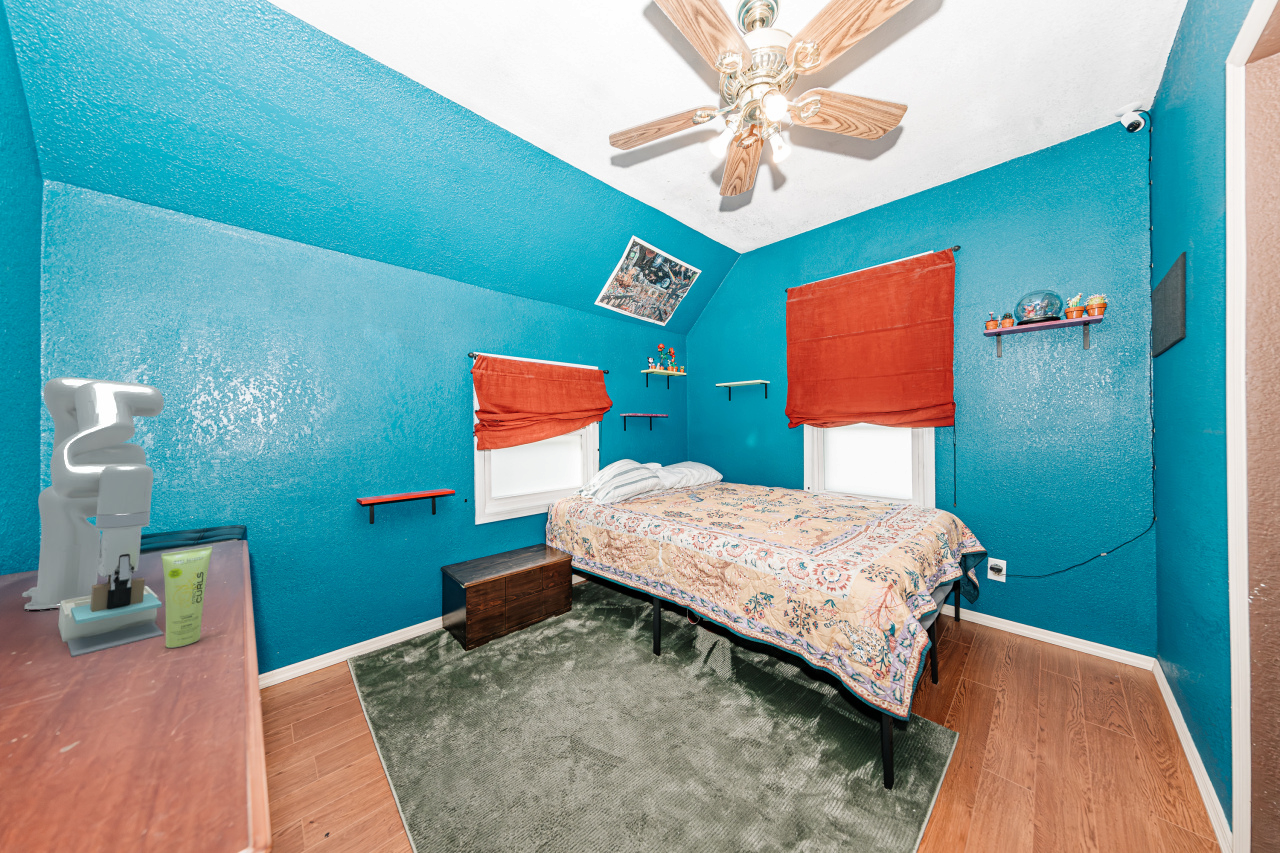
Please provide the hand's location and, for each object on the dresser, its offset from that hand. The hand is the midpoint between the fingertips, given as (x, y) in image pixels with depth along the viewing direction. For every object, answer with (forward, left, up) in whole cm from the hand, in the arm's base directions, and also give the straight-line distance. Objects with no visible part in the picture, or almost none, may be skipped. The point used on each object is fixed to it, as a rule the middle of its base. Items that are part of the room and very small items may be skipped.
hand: (117, 604), depth 92 cm
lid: (0, 0, -1) cm, 1 cm away
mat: (+2, -2, -7) cm, 7 cm away
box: (-8, +7, -7) cm, 13 cm away
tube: (+18, -6, -7) cm, 20 cm away
